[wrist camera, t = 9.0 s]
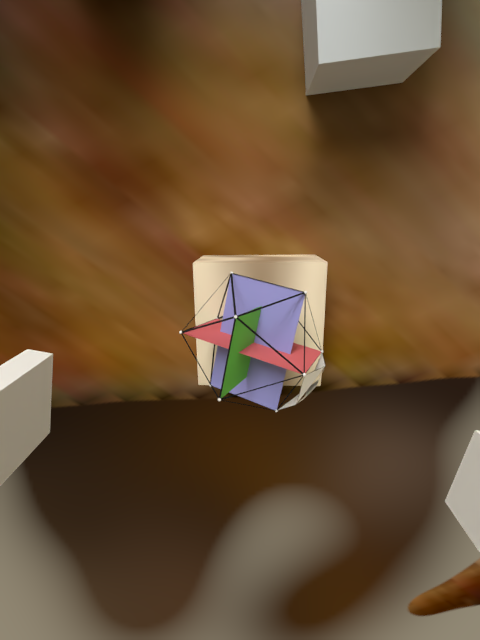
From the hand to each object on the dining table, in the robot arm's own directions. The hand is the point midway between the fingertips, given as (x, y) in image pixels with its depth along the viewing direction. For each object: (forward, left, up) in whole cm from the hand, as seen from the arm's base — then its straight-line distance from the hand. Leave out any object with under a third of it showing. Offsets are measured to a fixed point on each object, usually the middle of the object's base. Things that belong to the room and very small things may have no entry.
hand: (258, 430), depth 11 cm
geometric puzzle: (0, 0, -12) cm, 12 cm away
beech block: (0, 0, -17) cm, 17 cm away
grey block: (+2, +18, -17) cm, 24 cm away
